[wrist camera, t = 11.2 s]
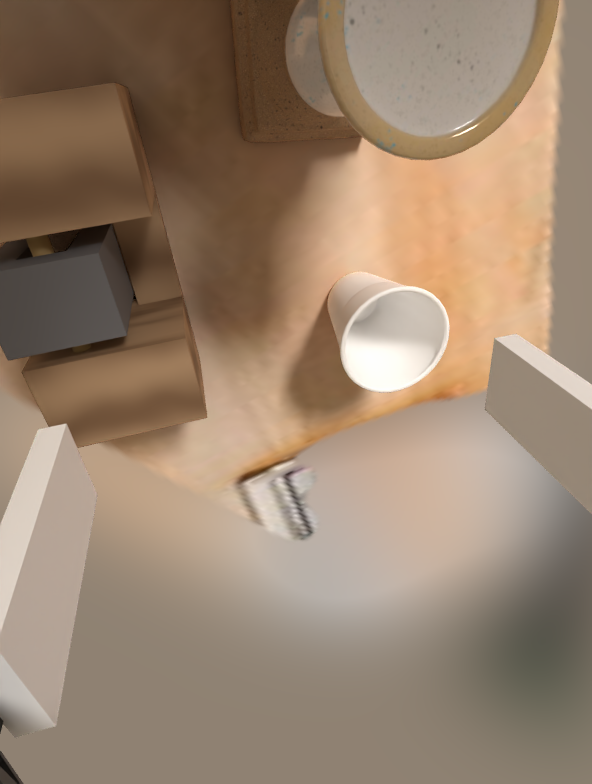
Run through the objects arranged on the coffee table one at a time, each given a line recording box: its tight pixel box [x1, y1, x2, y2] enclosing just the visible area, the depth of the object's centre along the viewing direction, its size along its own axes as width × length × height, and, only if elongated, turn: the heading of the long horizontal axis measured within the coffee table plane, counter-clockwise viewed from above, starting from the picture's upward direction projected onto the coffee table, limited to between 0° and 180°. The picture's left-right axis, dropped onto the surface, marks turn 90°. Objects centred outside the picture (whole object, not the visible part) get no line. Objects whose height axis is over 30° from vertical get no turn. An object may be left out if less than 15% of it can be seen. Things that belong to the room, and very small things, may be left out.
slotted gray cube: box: [0, 224, 134, 360], centre depth 37 cm, size 6×8×9 cm
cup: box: [327, 272, 449, 393], centre depth 46 cm, size 10×10×11 cm
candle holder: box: [230, 0, 559, 160], centre depth 29 cm, size 11×11×24 cm
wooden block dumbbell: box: [0, 82, 207, 448], centre depth 38 cm, size 24×12×11 cm, turn 7°
